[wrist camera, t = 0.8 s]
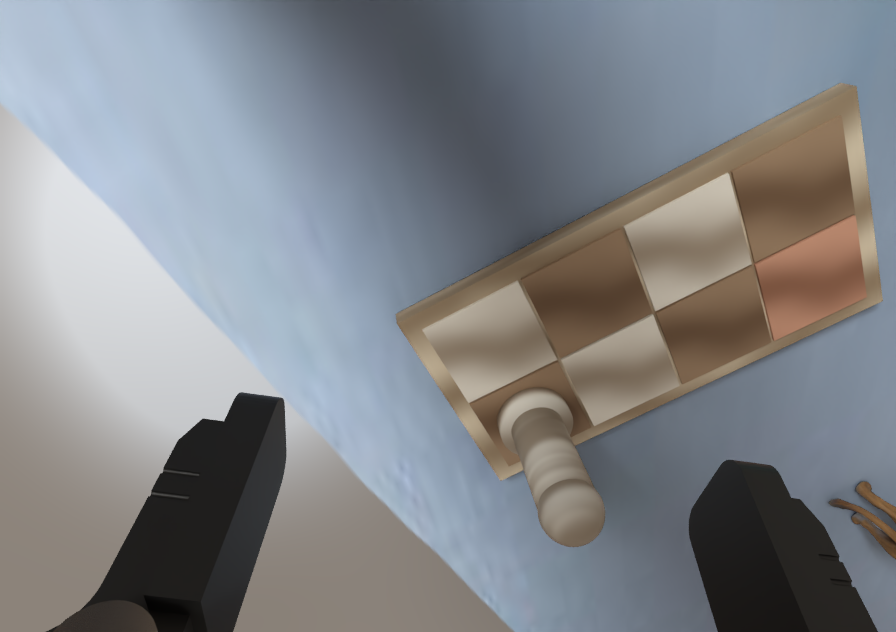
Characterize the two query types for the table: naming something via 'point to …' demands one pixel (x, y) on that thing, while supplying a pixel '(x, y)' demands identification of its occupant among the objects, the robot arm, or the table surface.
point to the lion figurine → (872, 517)
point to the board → (665, 281)
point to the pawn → (552, 465)
